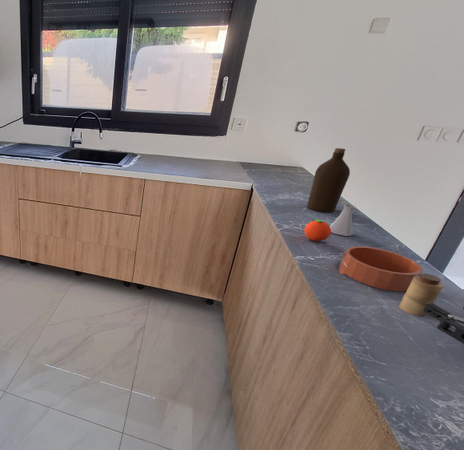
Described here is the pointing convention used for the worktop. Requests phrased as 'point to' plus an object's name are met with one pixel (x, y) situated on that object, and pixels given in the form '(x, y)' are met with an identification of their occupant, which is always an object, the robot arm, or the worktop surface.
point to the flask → (344, 222)
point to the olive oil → (329, 183)
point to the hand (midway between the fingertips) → (446, 305)
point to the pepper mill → (421, 294)
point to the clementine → (317, 230)
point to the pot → (379, 268)
